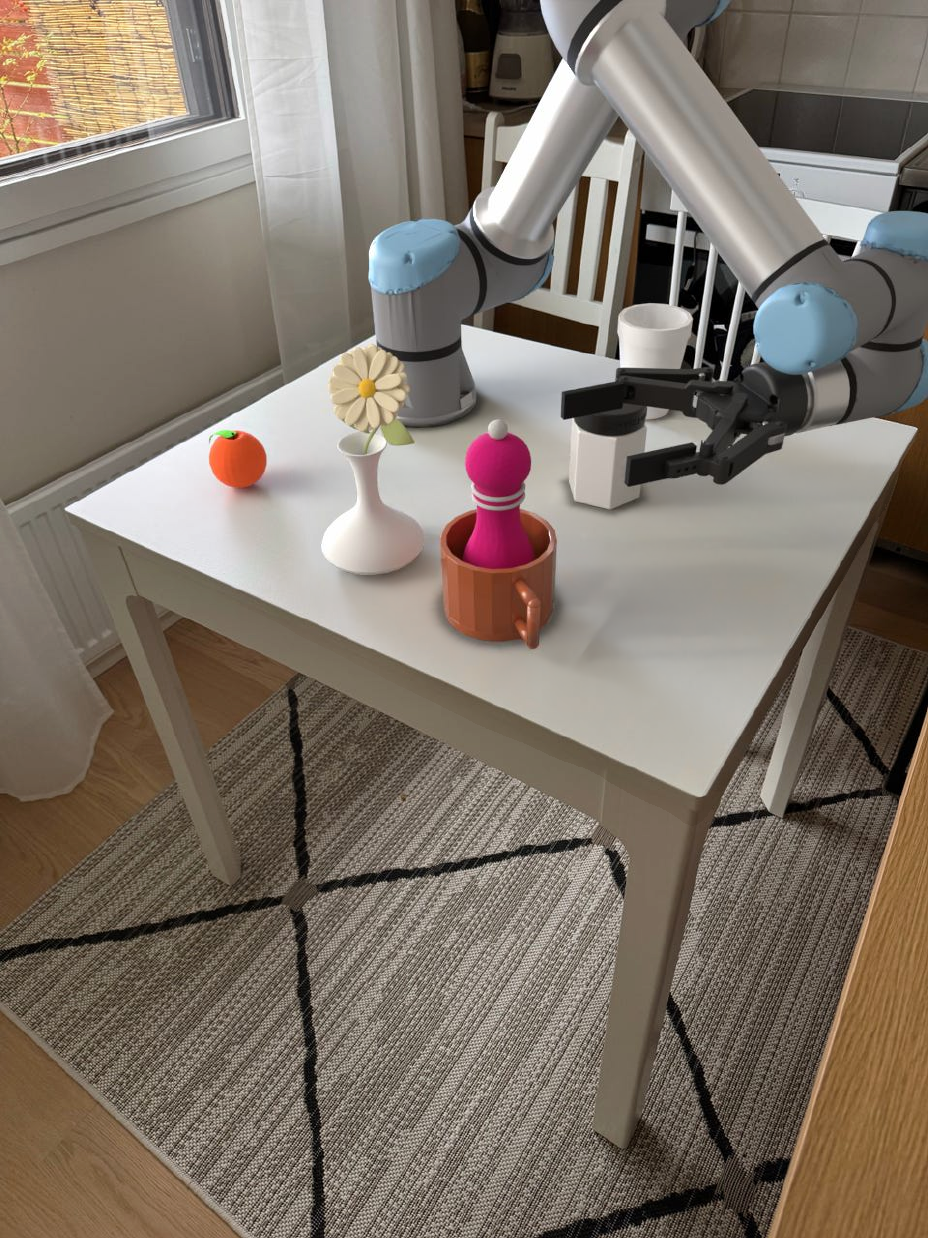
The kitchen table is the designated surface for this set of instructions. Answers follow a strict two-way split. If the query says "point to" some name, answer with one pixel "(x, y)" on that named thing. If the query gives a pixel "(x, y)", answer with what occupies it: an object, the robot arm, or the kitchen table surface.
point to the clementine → (237, 458)
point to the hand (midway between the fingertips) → (592, 436)
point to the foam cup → (653, 339)
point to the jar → (606, 455)
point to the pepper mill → (498, 499)
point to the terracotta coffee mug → (499, 584)
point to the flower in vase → (370, 465)
